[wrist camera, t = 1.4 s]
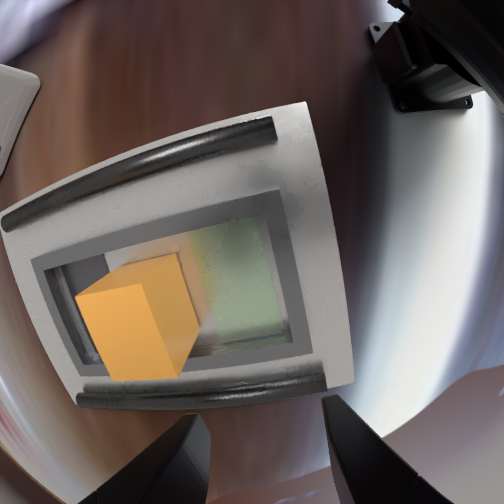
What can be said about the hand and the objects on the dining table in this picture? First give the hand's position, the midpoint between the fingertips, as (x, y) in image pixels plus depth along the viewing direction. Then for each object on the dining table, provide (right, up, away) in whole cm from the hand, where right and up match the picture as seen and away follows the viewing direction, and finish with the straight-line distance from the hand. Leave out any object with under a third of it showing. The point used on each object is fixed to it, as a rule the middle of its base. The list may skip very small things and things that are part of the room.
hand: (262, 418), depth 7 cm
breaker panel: (-7, +2, +14) cm, 15 cm away
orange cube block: (-6, +1, +11) cm, 13 cm away
